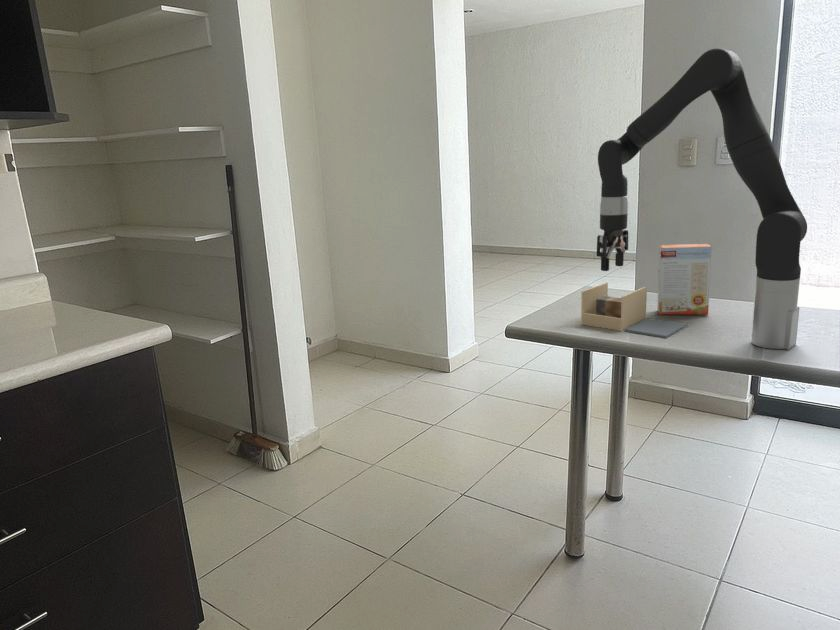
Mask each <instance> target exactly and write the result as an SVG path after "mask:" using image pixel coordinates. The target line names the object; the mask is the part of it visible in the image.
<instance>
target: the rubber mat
mask: <svg viewBox="0 0 840 630" xmlns="http://www.w3.org/2000/svg"><path fill="white" fill-rule="evenodd" d="M686 326H687V327H688V326H689V324H688V323H684V322H676V321H671V320H663V319H657V318H649V317H648V318H647V317H646V319H644V320H642V321H640V322H638V323H636V324H634V325H632V326H630V327H628V328H626V329H625V330H624V332H628V333H632V334H633V333H634V334H640V335H646V336H651V337H657V338H663V339H664V338H665V339H667V338H669V337H671V336H673V335H675V334H676V333H678V332H680V331H682V330H683V329H684V327H685V328H687V327H686ZM679 330H680V331H679ZM677 331H678V332H677ZM675 332H676V333H675ZM672 334H673V335H672Z"/></svg>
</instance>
